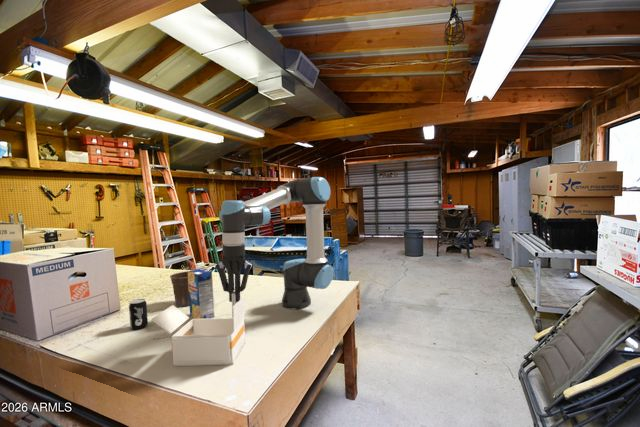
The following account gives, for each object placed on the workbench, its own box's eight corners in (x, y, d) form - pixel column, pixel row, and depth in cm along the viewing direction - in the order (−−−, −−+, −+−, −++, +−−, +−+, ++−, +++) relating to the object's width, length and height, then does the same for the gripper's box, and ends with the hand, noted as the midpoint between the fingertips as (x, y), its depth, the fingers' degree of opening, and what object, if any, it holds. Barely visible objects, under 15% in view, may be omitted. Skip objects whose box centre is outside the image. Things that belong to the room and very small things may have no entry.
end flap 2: (245, 316, 105) (244, 295, 105) (233, 331, 93) (233, 307, 92) (243, 316, 105) (243, 295, 105) (232, 331, 93) (231, 307, 93)
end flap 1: (189, 317, 106) (172, 304, 106) (171, 333, 93) (152, 318, 93) (188, 318, 106) (171, 305, 106) (170, 334, 93) (151, 319, 93)
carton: (246, 342, 107) (244, 316, 107) (232, 366, 92) (230, 336, 91) (194, 343, 108) (192, 318, 107) (171, 367, 92) (170, 337, 92)
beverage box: (200, 321, 128) (197, 274, 127) (190, 316, 135) (187, 271, 135) (214, 317, 133) (211, 271, 132) (203, 311, 141) (201, 268, 140)
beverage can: (151, 324, 127) (149, 298, 127) (137, 331, 121) (135, 304, 120) (140, 323, 129) (139, 297, 129) (126, 329, 123) (125, 302, 123)
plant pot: (190, 296, 166) (189, 269, 165) (210, 299, 159) (208, 271, 158) (164, 306, 151) (163, 276, 150) (185, 310, 144) (183, 279, 143)
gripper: (254, 242, 102) (255, 306, 102) (220, 242, 102) (221, 306, 103) (248, 245, 94) (249, 314, 95) (211, 245, 95) (212, 314, 95)
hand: (234, 310), depth 99 cm, fingers closed
